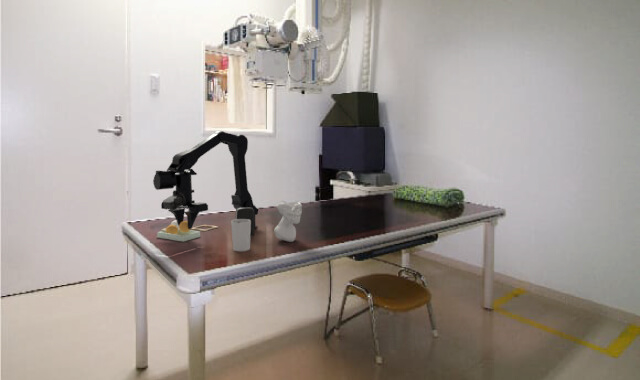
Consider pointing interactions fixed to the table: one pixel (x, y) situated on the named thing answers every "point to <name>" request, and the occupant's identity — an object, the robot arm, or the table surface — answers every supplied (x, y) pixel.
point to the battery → (246, 216)
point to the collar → (204, 226)
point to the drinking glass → (241, 234)
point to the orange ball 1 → (172, 229)
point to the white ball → (175, 223)
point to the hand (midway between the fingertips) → (185, 228)
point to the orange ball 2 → (184, 226)
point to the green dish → (179, 235)
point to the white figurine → (288, 220)
